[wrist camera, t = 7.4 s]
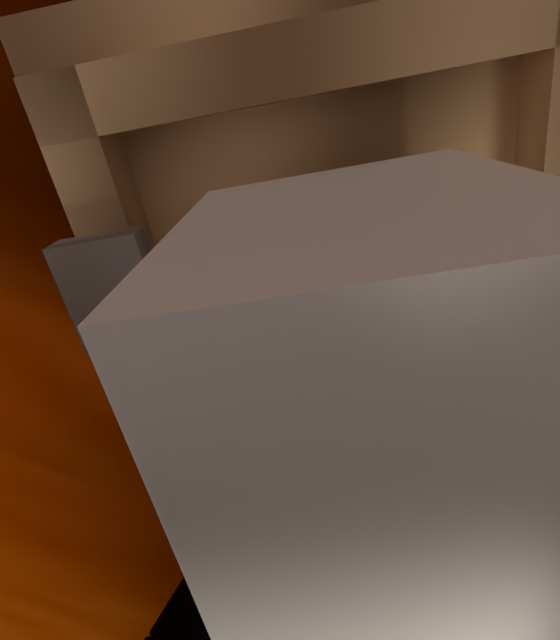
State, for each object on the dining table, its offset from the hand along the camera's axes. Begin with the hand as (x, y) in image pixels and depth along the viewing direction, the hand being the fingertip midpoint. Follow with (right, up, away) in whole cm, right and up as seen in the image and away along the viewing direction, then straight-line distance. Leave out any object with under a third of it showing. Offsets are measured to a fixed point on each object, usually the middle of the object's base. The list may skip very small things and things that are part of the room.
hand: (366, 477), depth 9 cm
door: (0, 0, +1) cm, 1 cm away
